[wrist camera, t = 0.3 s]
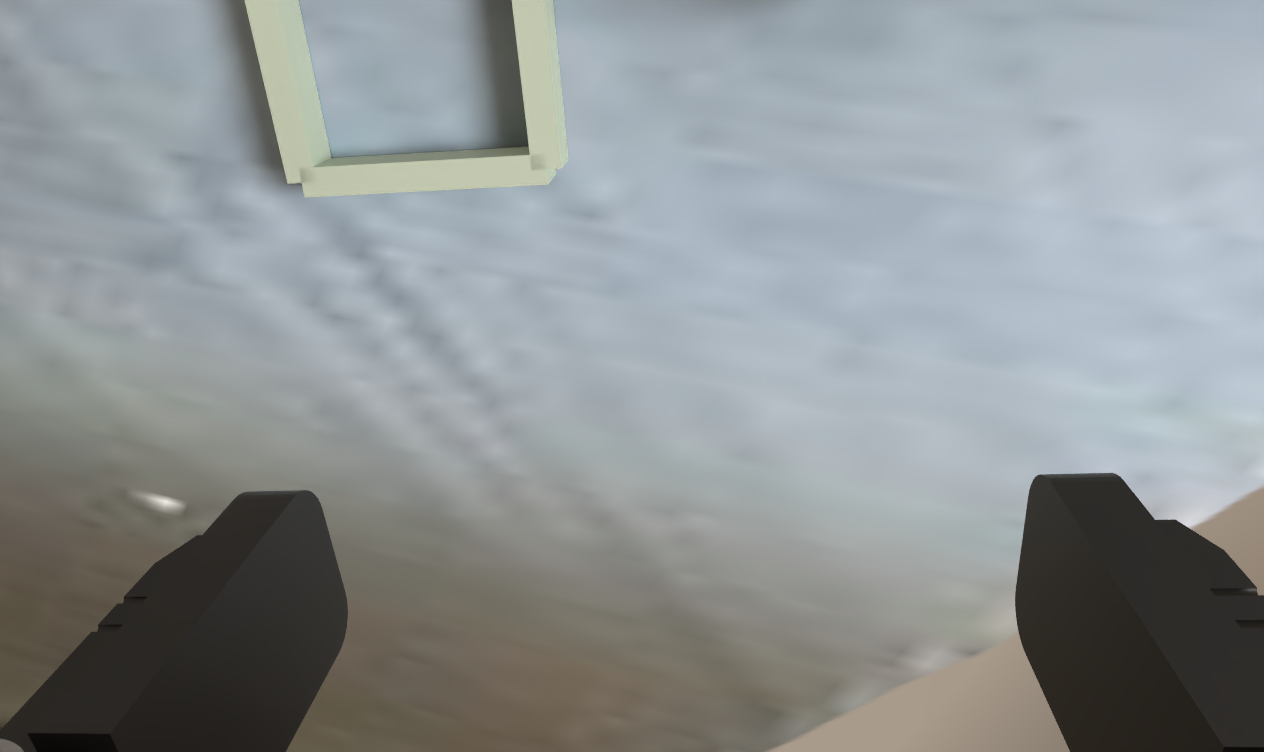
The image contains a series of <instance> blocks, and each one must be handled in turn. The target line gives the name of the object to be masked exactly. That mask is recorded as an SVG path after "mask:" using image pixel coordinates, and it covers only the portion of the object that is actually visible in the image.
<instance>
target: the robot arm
mask: <svg viewBox="0 0 1264 752" xmlns="http://www.w3.org/2000/svg"><path fill="white" fill-rule="evenodd" d="M1015 606H1016V618H1017V625H1018V630H1019V635H1020V639H1021V642H1022V645H1023V648H1024V651H1025V653H1026V656H1027V657H1028V660H1029V662H1030V664H1031V666H1032V669H1033V671H1034V673H1035V675H1036V678H1037V679H1038V682H1039V684H1040V686H1041V688H1042V690H1043V693H1044V695H1045V697H1046V699H1047V702H1048V704H1049V706H1050V708H1051V710H1052V713H1053V715H1054V717H1055V719H1056V721H1057V724H1058V726H1059V728H1060V730H1061V732H1062V735H1063V737H1064V739H1065V741H1066V743H1067V746H1068V748H1069V750H1070V752H1264V596H1263V595H1262V596H1258V594H1257V587H1256V586H1255V585H1254V584H1253V583H1252V582H1251V580H1250V579H1249V578H1248V577H1247V576H1246V575H1245V574H1244V572H1243V571H1242V570H1241V569H1240V568H1239V567H1238V566H1237V565H1236V563H1235V562H1234V561H1233V560H1232V559H1231V558H1230V557H1229V555H1228V554H1227V553H1226V552H1225V551H1224V550H1223V549H1221V548H1219V547H1218V546H1216V545H1215V544H1213V543H1211V542H1210V541H1208V540H1207V539H1205V538H1204V537H1202V536H1200V535H1199V534H1197V533H1196V532H1194V531H1193V530H1191V529H1189V528H1188V527H1186V526H1185V525H1183V524H1181V523H1180V522H1178V521H1177V520H1155V519H1154V518H1153V517H1152V516H1151V514H1150V513H1149V512H1148V511H1147V509H1146V508H1145V507H1144V505H1143V504H1142V503H1141V502H1140V500H1139V499H1138V498H1137V497H1136V495H1135V494H1134V493H1133V492H1132V490H1131V489H1130V488H1129V487H1128V485H1127V484H1126V483H1125V482H1124V480H1123V479H1122V478H1121V477H1120V476H1118V475H1117V474H1114V473H1088V474H1046V475H1038V476H1036V477H1035V479H1034V480H1033V482H1032V484H1031V487H1030V490H1029V496H1028V503H1027V511H1026V518H1025V525H1024V533H1023V540H1022V548H1021V555H1020V562H1019V570H1018V577H1017V585H1016V594H1015ZM347 618H348V607H347V598H346V593H345V590H344V586H343V582H342V579H341V575H340V571H339V568H338V564H337V561H336V557H335V553H334V550H333V546H332V542H331V539H330V535H329V531H328V528H327V524H326V521H325V517H324V513H323V510H322V507H321V504H320V502H319V500H318V498H317V497H316V496H315V495H314V494H313V493H312V492H310V491H307V490H298V491H257V492H244V493H241V494H240V495H238V496H237V497H236V498H235V499H234V500H233V501H232V502H231V503H230V505H229V506H228V507H227V508H226V509H225V510H224V511H223V512H222V514H221V515H220V516H219V517H218V518H217V519H216V520H215V521H214V523H213V524H212V525H211V526H210V527H209V528H208V529H207V530H206V532H205V533H204V534H203V535H197V536H196V537H194V538H193V539H191V540H190V541H188V542H187V543H185V544H184V545H182V546H181V547H179V548H178V549H176V550H174V551H173V552H171V553H170V554H168V555H167V556H165V557H164V558H162V559H161V560H159V561H158V562H156V563H155V564H154V565H153V566H152V567H151V568H150V569H149V570H148V571H147V572H146V573H145V574H144V576H143V577H142V578H141V579H140V580H139V581H138V582H137V583H136V584H135V585H134V586H133V587H132V589H131V590H130V591H129V592H128V593H127V594H126V595H125V596H124V602H123V604H117V605H116V606H115V607H114V608H113V609H112V610H111V611H110V612H109V613H108V615H107V616H106V617H105V618H104V619H103V620H102V621H101V622H100V623H99V624H98V627H99V628H98V631H97V632H91V633H90V634H89V635H88V636H87V637H86V638H85V639H84V641H83V642H82V643H81V644H80V645H79V646H78V647H77V648H76V649H75V650H74V651H73V652H72V654H71V655H70V656H69V657H68V658H67V659H66V660H65V661H64V662H63V663H62V664H61V665H60V667H59V668H58V669H57V670H56V671H55V672H54V673H53V674H52V675H51V676H50V677H49V678H48V680H47V681H46V682H45V683H44V684H43V685H42V686H41V687H40V688H39V689H38V690H37V691H36V693H35V694H34V695H33V696H32V697H31V698H30V699H29V700H28V701H27V702H26V703H25V704H24V706H23V707H22V708H21V709H20V710H19V711H18V712H17V713H16V714H15V715H14V716H13V717H12V719H11V720H10V721H9V722H8V723H7V724H6V725H5V726H4V727H3V728H2V729H1V730H0V752H286V750H287V748H288V746H289V745H290V743H291V741H292V739H293V737H294V735H295V733H296V732H297V730H298V728H299V726H300V724H301V722H302V720H303V719H304V717H305V715H306V713H307V711H308V709H309V707H310V706H311V704H312V702H313V700H314V698H315V696H316V694H317V693H318V691H319V689H320V687H321V685H322V683H323V681H324V680H325V678H326V676H327V674H328V672H329V670H330V668H331V667H332V665H333V663H334V661H335V659H336V657H337V655H338V653H339V651H340V649H341V647H342V644H343V641H344V637H345V633H346V628H347Z"/></svg>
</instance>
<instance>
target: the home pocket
mask: <svg viewBox="0 0 1264 752" xmlns="http://www.w3.org/2000/svg"><path fill="white" fill-rule="evenodd" d="M245 5H246V9H247V13H248V17H249V22H250V26H251V30H252V35H253V39H254V43H255V47H256V52H257V56H258V60H259V64H260V69H261V73H262V77H263V81H264V86H265V90H266V94H267V98H268V103H269V107H270V111H271V115H272V120H273V124H274V128H275V132H276V137H277V141H278V145H279V149H280V154H281V158H282V162H283V166H284V171H285V175H286V179H287V183H288V184H291V183H302V187H303V192H304V196H305V197H323V196H342V195H360V194H379V193H398V192H416V191H435V190H454V189H473V188H491V187H510V186H529V185H547V184H549V183H550V181H551V180H552V179H553V177H554V176H555V175H556V169H561V168H562V167H563V166H564V164H565V163H566V162H567V160H568V159H569V156H568V146H567V136H566V126H565V116H564V106H563V96H562V86H561V76H560V66H559V56H558V46H557V36H556V26H555V16H554V6H553V0H512V8H513V16H514V25H515V33H516V42H517V50H518V59H519V67H520V76H521V84H522V93H523V101H524V110H525V118H526V127H527V135H528V144H529V146H528V147H511V148H493V149H476V150H459V151H442V152H425V153H407V154H390V155H373V156H356V157H339V158H332V157H331V152H330V148H329V143H328V138H327V133H326V129H325V124H324V119H323V115H322V110H321V105H320V100H319V96H318V91H317V86H316V81H315V77H314V72H313V67H312V62H311V58H310V53H309V48H308V44H307V39H306V34H305V29H304V25H303V20H302V15H301V10H300V6H299V1H298V0H245Z"/></svg>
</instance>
